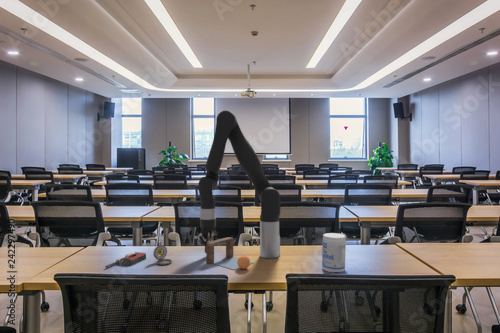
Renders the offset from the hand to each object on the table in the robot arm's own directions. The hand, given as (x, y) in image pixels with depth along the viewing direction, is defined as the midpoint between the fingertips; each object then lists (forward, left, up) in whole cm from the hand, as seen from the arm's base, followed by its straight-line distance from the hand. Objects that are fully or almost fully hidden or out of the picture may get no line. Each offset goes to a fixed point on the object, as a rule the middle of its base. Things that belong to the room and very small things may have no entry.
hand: (208, 253), depth 163 cm
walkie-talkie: (+31, -19, -2) cm, 37 cm away
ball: (+2, +25, +1) cm, 26 cm away
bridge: (0, +8, -2) cm, 9 cm away
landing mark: (0, +17, -2) cm, 17 cm away
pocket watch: (+20, -8, -2) cm, 22 cm away
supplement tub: (-22, +55, -2) cm, 59 cm away
